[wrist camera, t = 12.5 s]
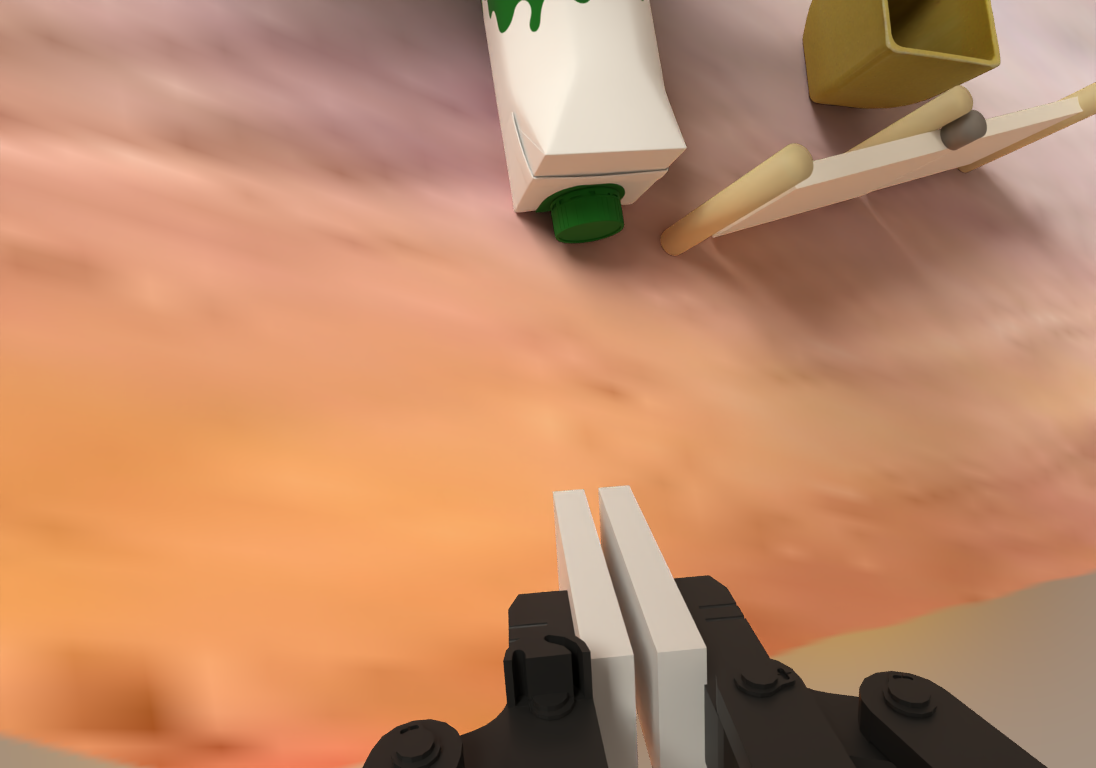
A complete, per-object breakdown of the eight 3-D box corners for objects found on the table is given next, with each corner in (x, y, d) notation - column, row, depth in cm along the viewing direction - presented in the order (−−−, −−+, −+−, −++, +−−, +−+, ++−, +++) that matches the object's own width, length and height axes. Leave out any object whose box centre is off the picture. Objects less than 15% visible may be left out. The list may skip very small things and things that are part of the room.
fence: (666, 258, 43) (788, 183, 32) (650, 212, 43) (767, 120, 32) (975, 170, 52) (1155, 88, 41) (962, 131, 52) (1138, 39, 41)
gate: (714, 240, 43) (818, 180, 34) (706, 216, 43) (807, 150, 34) (864, 198, 47) (993, 134, 38) (857, 176, 47) (983, 107, 38)
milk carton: (457, -68, 42) (507, 251, 40) (478, -208, 33) (543, 193, 32) (593, -64, 44) (644, 239, 43) (646, -193, 35) (713, 182, 34)
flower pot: (775, 5, 48) (872, -93, 40) (874, 22, 51) (984, -67, 42) (788, 125, 47) (889, 50, 39) (887, 135, 50) (1003, 67, 42)
